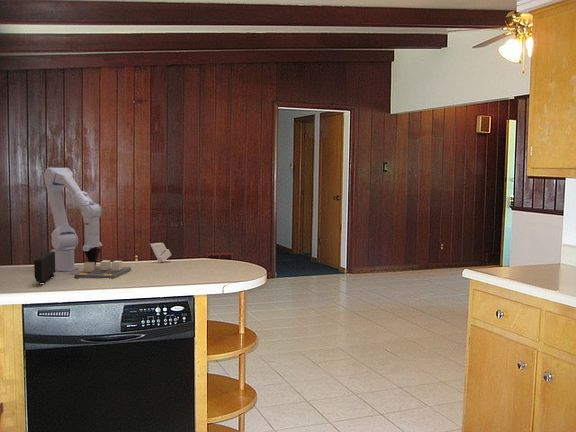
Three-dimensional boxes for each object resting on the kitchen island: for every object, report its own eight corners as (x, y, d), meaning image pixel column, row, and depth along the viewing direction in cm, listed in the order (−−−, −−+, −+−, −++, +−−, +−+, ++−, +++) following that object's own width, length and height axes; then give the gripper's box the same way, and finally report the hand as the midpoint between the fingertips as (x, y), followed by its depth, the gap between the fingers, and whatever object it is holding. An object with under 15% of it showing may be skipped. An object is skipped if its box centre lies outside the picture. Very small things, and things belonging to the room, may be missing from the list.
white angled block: (150, 262, 268) (150, 243, 268) (166, 259, 276) (166, 242, 275) (155, 263, 266) (155, 244, 265) (171, 260, 274) (171, 242, 273)
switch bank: (74, 278, 227) (74, 274, 227) (94, 269, 247) (94, 265, 247) (113, 279, 226) (113, 275, 226) (130, 270, 246) (130, 266, 246)
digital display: (47, 275, 232) (47, 251, 231) (56, 275, 232) (55, 251, 232) (33, 286, 211) (32, 259, 210) (42, 286, 212) (42, 259, 211)
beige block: (83, 271, 232) (83, 263, 232) (87, 270, 236) (87, 261, 236) (91, 272, 232) (90, 263, 232) (94, 270, 236) (94, 261, 236)
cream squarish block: (112, 270, 236) (111, 262, 236) (115, 268, 240) (115, 260, 240) (119, 270, 236) (119, 262, 236) (122, 269, 240) (122, 260, 240)
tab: (100, 270, 237) (100, 261, 236) (103, 268, 241) (103, 260, 240) (107, 270, 236) (107, 262, 236) (110, 268, 240) (110, 260, 240)
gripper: (94, 235, 229) (95, 269, 230) (108, 231, 243) (108, 263, 244) (77, 235, 229) (78, 268, 230) (91, 231, 243) (92, 263, 245)
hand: (92, 266), depth 237 cm, fingers closed
